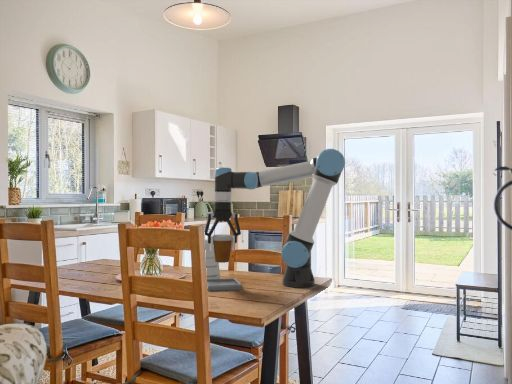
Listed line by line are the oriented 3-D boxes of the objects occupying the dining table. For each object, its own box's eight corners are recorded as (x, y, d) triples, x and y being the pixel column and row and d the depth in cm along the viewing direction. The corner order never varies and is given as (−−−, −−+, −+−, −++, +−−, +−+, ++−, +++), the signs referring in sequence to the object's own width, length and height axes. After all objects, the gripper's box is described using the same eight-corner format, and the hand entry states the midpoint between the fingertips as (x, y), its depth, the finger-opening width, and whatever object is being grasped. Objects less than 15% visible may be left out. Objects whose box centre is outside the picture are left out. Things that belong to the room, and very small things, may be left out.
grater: (199, 282, 210) (199, 240, 211) (196, 278, 220) (196, 238, 221) (220, 281, 213) (220, 240, 213) (216, 277, 223) (217, 238, 223)
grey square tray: (235, 283, 209) (235, 278, 209) (241, 289, 195) (241, 284, 195) (203, 284, 206) (203, 279, 206) (208, 291, 191) (208, 285, 191)
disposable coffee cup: (228, 263, 194) (228, 236, 194) (208, 262, 197) (208, 235, 198) (235, 260, 203) (235, 234, 204) (216, 259, 206) (216, 234, 207)
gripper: (244, 201, 207) (244, 249, 207) (197, 201, 202) (197, 250, 201) (248, 201, 200) (247, 251, 200) (199, 201, 194) (198, 252, 194)
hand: (222, 250), depth 200 cm, fingers closed on disposable coffee cup, 9 cm apart
